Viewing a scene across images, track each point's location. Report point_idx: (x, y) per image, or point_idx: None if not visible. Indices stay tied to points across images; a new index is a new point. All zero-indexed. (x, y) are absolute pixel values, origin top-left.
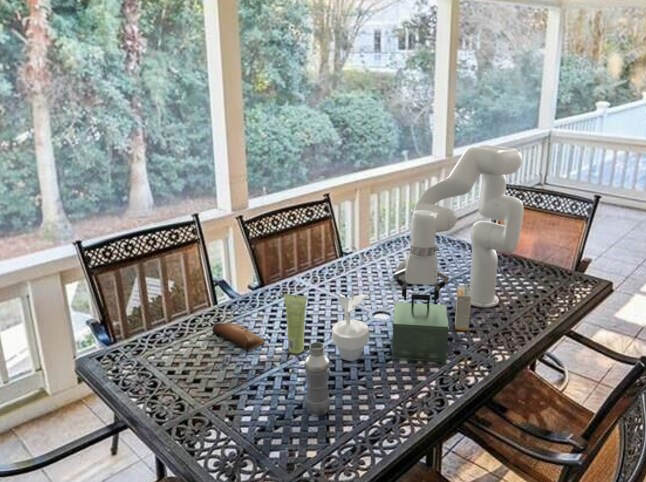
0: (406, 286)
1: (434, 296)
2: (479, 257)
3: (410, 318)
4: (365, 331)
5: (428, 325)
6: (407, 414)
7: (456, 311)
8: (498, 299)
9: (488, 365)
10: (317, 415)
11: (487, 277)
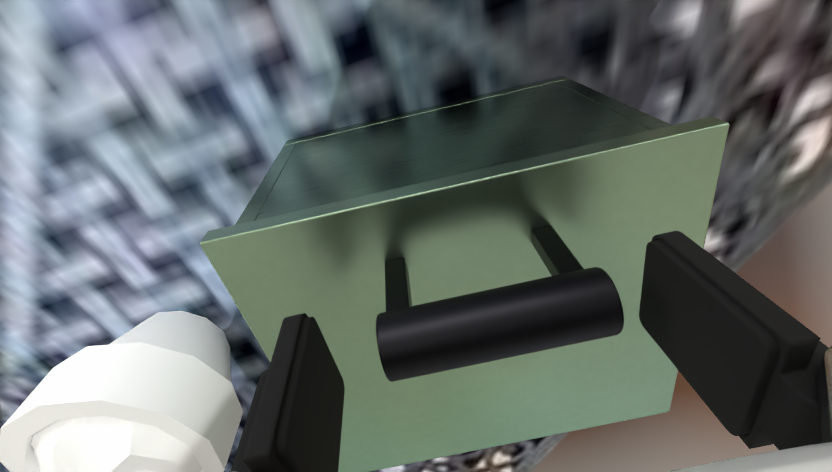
0: (292, 466)
1: (679, 364)
2: None
3: (425, 412)
4: (207, 461)
5: (548, 435)
6: (464, 467)
7: None
8: None
9: (736, 219)
10: None
11: None
